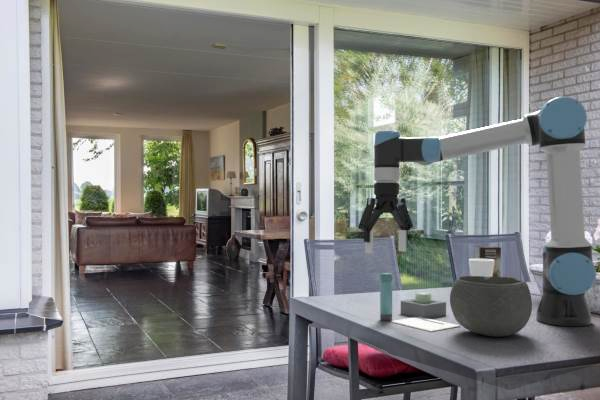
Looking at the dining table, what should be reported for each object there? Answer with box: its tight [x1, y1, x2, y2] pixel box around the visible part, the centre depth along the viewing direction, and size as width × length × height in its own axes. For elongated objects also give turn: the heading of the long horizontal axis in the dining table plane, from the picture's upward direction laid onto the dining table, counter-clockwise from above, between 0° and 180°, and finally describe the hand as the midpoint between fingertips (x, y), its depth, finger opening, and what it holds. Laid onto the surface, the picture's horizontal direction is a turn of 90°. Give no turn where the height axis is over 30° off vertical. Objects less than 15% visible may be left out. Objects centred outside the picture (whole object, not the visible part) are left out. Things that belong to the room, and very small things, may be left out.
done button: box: [414, 291, 432, 304], centre depth 193 cm, size 5×5×5 cm
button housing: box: [400, 298, 447, 319], centre depth 193 cm, size 10×10×4 cm
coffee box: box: [474, 245, 502, 277], centre depth 259 cm, size 9×6×16 cm
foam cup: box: [468, 258, 494, 277], centre depth 235 cm, size 10×9×13 cm
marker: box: [379, 272, 394, 322], centre depth 184 cm, size 4×4×14 cm
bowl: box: [449, 275, 533, 338], centre depth 165 cm, size 21×21×15 cm
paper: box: [390, 316, 461, 333], centre depth 178 cm, size 16×12×1 cm
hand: (386, 252), depth 184 cm, fingers open, 13 cm apart
